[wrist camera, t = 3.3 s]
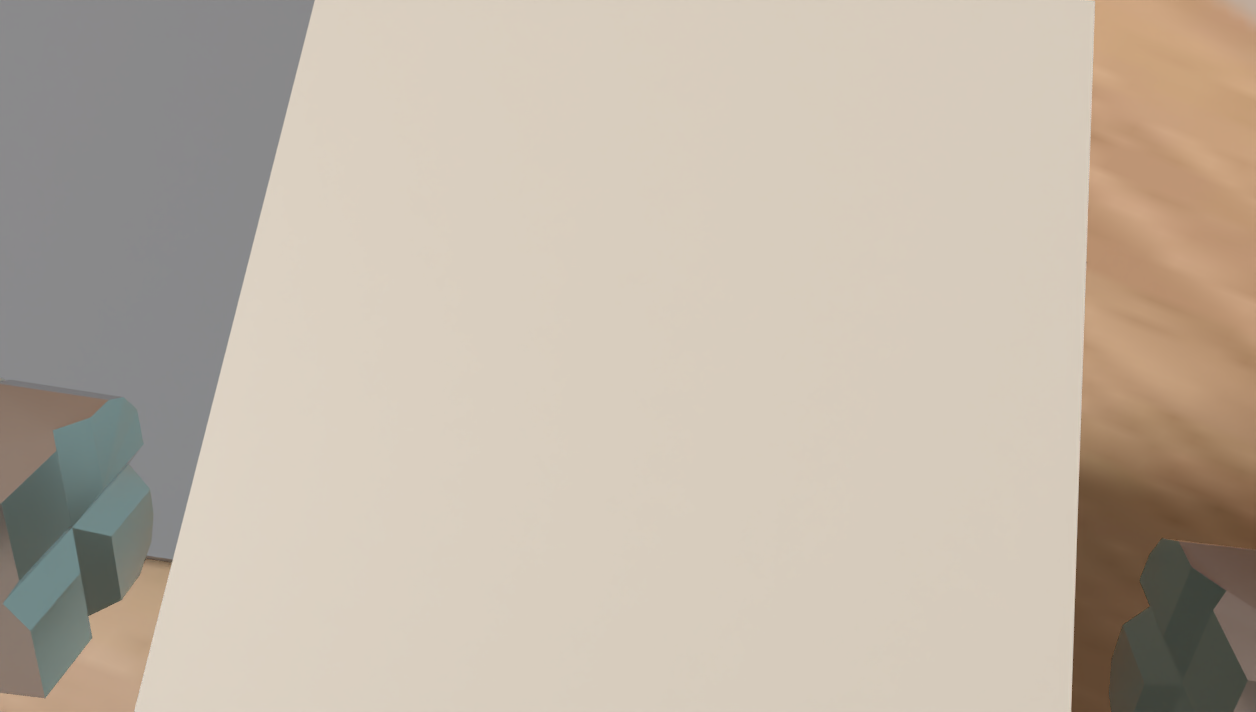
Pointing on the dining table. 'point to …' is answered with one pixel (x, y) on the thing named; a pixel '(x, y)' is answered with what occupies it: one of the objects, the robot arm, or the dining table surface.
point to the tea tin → (652, 366)
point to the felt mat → (137, 203)
